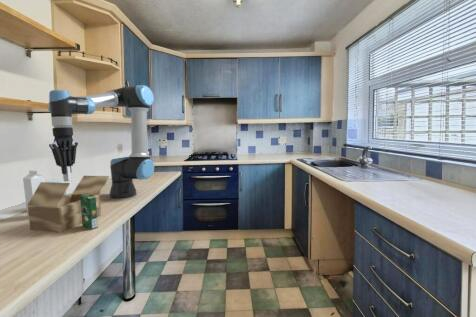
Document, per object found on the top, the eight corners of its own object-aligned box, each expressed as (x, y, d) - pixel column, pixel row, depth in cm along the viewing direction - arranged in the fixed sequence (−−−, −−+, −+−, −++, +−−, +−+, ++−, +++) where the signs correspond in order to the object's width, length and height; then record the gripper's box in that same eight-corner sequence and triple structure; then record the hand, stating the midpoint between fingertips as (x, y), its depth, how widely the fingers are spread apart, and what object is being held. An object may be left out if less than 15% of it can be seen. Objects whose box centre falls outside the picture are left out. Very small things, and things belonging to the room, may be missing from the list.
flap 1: (41, 182, 122) (40, 182, 122) (70, 183, 118) (69, 183, 118) (28, 205, 117) (27, 205, 116) (57, 207, 113) (57, 206, 112)
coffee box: (99, 227, 118) (96, 196, 116) (92, 229, 115) (89, 198, 114) (89, 224, 123) (86, 194, 121) (82, 226, 120) (79, 195, 119)
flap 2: (72, 192, 138) (73, 193, 138) (98, 193, 134) (99, 194, 134) (83, 175, 144) (84, 176, 145) (109, 176, 140) (109, 176, 141)
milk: (35, 219, 132) (29, 172, 129) (27, 217, 135) (21, 171, 132) (48, 215, 138) (43, 170, 135) (40, 214, 140) (35, 169, 137)
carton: (73, 213, 139) (71, 193, 138) (101, 215, 135) (99, 194, 134) (30, 229, 118) (27, 206, 117) (61, 232, 114) (58, 207, 112)
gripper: (68, 127, 131) (72, 178, 133) (41, 127, 118) (47, 183, 121) (81, 126, 129) (86, 178, 131) (56, 126, 116) (61, 184, 119)
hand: (67, 180), depth 126 cm, fingers closed
